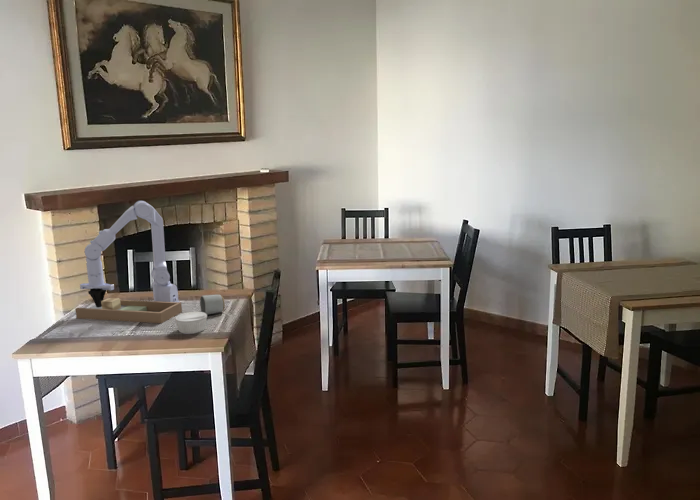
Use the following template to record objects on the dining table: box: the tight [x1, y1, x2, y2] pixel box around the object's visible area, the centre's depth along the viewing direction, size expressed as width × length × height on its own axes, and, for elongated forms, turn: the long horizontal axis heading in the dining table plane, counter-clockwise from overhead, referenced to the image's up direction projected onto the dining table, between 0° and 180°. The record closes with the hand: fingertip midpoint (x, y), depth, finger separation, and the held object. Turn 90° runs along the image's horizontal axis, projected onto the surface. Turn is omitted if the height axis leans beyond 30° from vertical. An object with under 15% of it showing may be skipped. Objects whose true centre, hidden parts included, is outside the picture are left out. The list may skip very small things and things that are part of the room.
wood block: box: [101, 297, 121, 310], centre depth 232 cm, size 5×5×4 cm
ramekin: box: [174, 311, 208, 335], centre depth 210 cm, size 11×11×5 cm
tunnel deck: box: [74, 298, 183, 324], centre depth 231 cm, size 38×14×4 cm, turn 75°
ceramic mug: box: [199, 294, 226, 316], centre depth 230 cm, size 11×8×8 cm
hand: (99, 306), depth 234 cm, fingers closed
